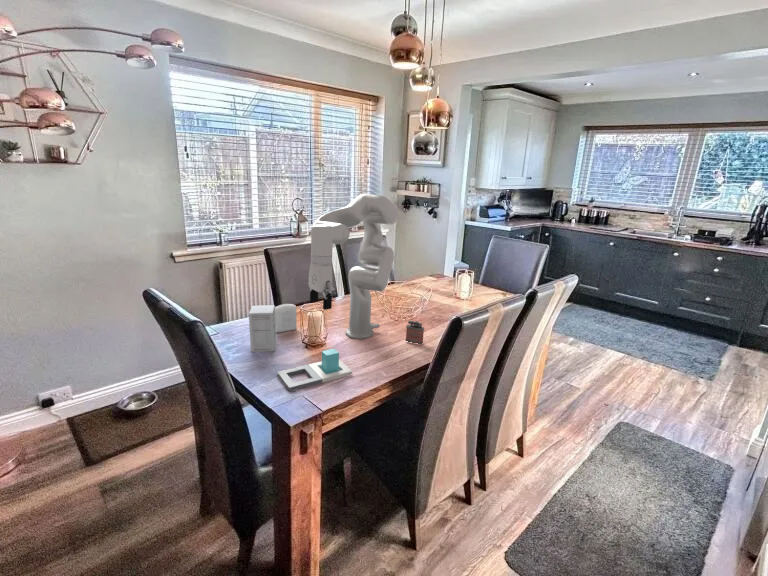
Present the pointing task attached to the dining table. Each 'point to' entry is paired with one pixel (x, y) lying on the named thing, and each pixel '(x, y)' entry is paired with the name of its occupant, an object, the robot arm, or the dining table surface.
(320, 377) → the panel
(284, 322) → the grey toy tombstone
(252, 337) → the supplement box
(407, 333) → the lighter
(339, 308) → the dining table surface
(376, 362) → the dining table surface
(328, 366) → the plug
